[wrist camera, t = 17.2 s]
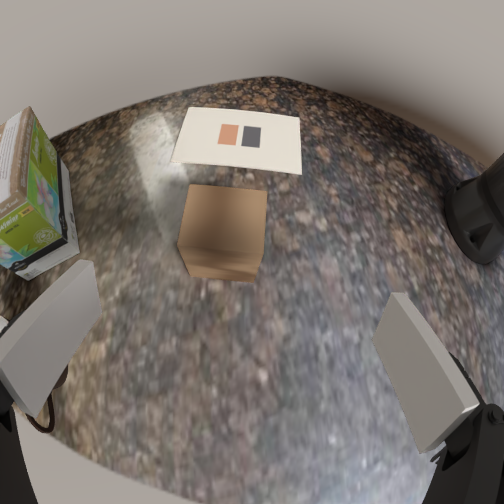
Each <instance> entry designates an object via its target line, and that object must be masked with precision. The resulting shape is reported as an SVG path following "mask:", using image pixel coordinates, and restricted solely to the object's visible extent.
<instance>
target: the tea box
mask: <svg viewBox="0 0 504 504" xmlns="http://www.w3.org/2000/svg"><path fill="white" fill-rule="evenodd" d="M78 253H80V251H79V245H78V238H77V232H76V227H75V220H74V214H73V207H72V197H71V190H70V179H69V171H68V169H67V168H66V166H65V164H64V163H63V161H62V160H61V158H60V157H59V155H58V153H57V152H56V150H55V148H54V147H53V145H52V144H51V142H50V140H49V138H48V137H47V135H46V133H45V132H44V130H43V128H42V126H41V125H40V123H39V121H38V119H37V117H36V116H35V114H34V112H33V110H32V109H31V107H30V106H29V107H28V108H26V109H24V110H22V111H21V112H19V113H18V114H16V115H15V116H13V117H12V118H10V119H9V120H8V121H7V122H5V123H4V124H2V125H1V126H0V264H1V265H2V266H4V267H6V268H7V269H9V270H11V271H13V272H14V273H16V274H17V275H19V276H21V277H23V278H24V279H26V280H28V281H29V280H30V279H32V278H34V277H36V276H37V275H39V274H41V273H43V272H45V271H47V270H48V269H50V268H52V267H54V266H56V265H58V264H60V263H61V262H63V261H65V260H67V259H69V258H71V257H73V256H75V255H76V254H78Z"/></svg>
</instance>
